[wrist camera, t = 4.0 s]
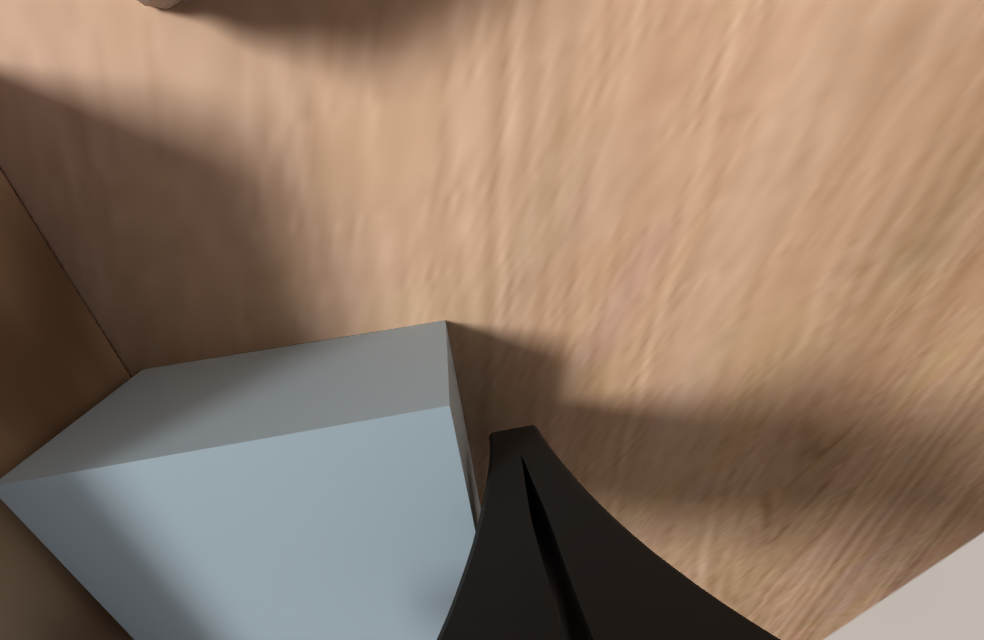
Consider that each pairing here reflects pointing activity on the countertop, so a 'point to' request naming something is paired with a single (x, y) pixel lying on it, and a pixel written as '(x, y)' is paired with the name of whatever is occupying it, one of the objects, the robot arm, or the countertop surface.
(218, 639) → the grey block
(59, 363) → the fence board
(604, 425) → the countertop surface
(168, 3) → the brick
